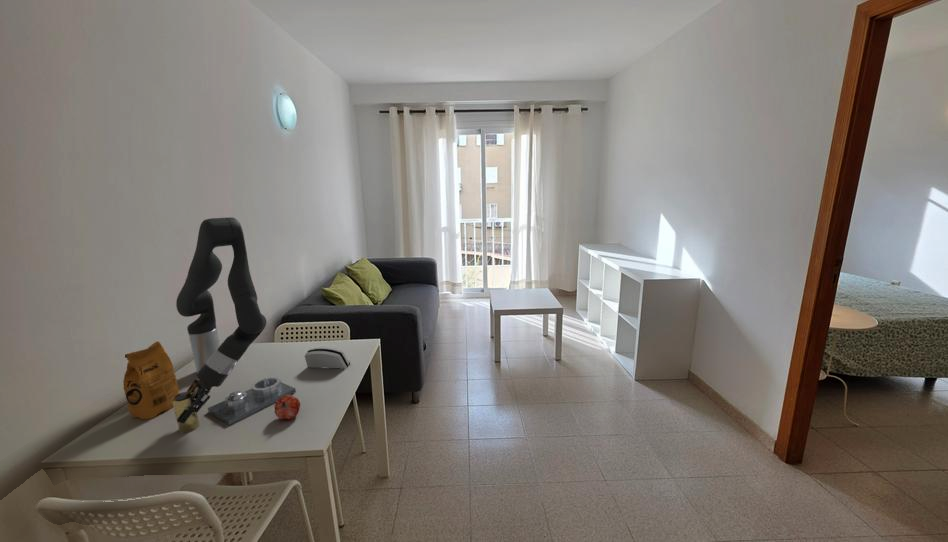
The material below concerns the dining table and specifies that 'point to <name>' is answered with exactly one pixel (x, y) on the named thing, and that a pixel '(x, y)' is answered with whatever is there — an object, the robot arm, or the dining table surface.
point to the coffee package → (149, 382)
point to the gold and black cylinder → (179, 406)
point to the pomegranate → (287, 407)
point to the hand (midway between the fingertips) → (179, 417)
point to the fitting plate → (250, 400)
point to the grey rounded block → (326, 358)
